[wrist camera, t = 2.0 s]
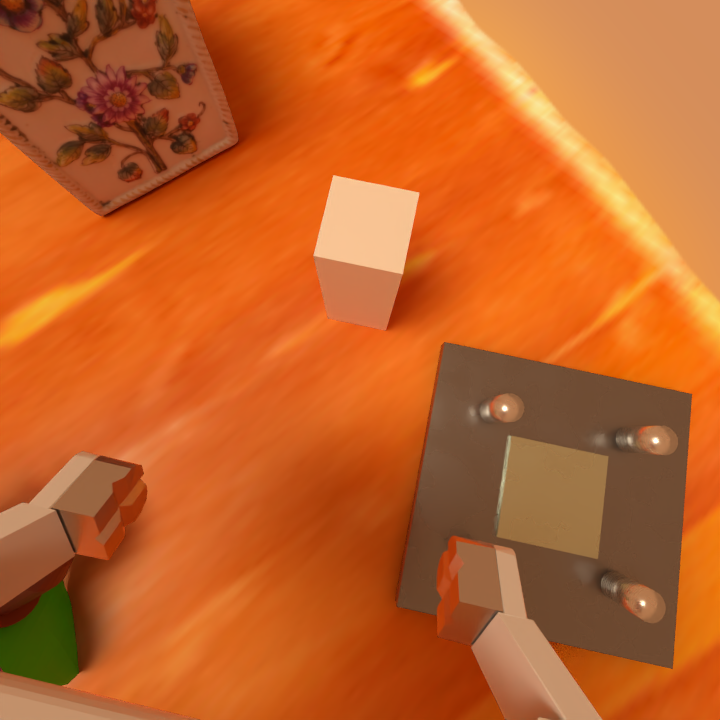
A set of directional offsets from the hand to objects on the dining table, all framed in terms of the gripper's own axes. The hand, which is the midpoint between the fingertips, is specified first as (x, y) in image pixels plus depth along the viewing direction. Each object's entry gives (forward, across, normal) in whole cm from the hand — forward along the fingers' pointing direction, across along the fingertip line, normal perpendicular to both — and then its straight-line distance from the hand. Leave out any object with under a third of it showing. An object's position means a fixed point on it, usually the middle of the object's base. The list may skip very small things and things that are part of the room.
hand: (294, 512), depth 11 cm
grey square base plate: (+12, +14, -10) cm, 21 cm away
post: (+19, 0, -3) cm, 20 cm away
